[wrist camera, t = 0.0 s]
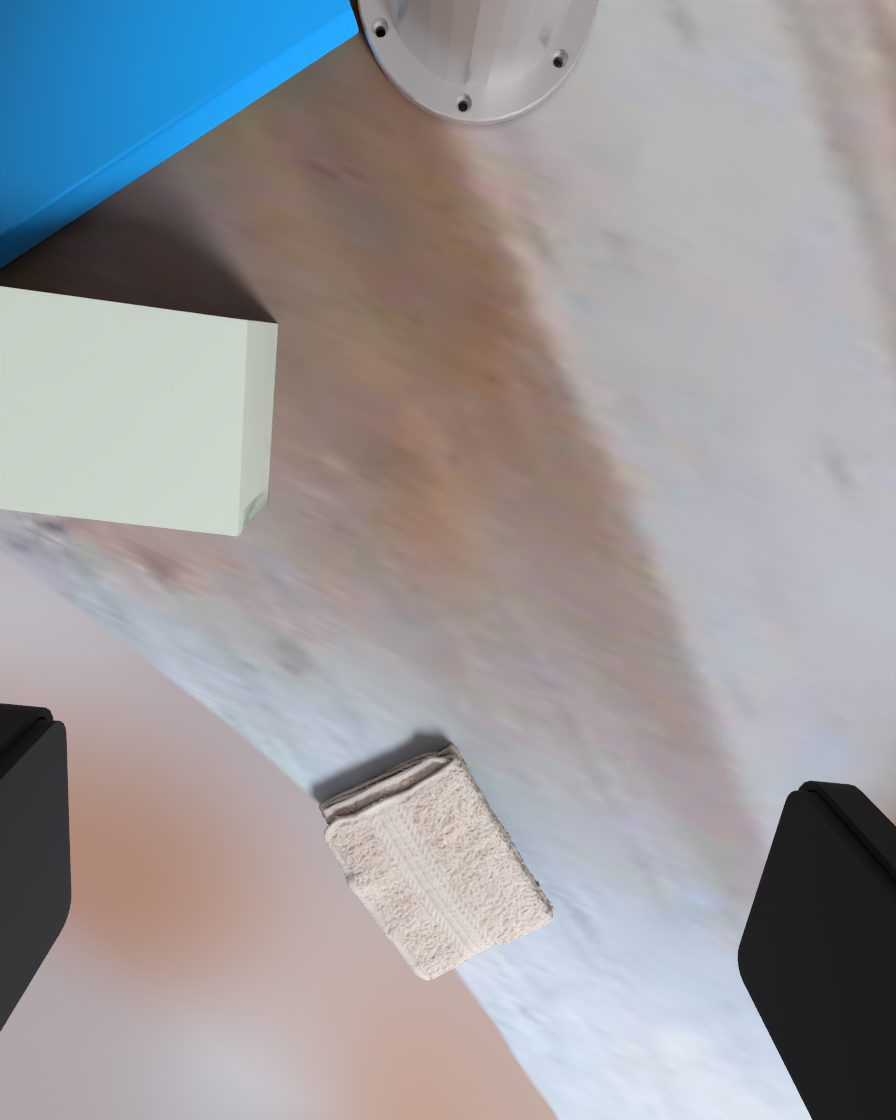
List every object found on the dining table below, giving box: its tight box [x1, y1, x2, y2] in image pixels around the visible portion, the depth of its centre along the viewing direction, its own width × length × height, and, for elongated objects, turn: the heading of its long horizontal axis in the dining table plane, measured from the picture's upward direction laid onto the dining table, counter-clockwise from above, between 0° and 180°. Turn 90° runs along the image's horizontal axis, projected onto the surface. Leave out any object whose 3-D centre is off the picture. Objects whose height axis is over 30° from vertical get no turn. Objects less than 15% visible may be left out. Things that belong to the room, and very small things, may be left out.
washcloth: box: [319, 744, 553, 981], centre depth 53 cm, size 12×18×3 cm, turn 29°
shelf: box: [0, 286, 278, 536], centre depth 39 cm, size 11×21×8 cm, turn 82°
